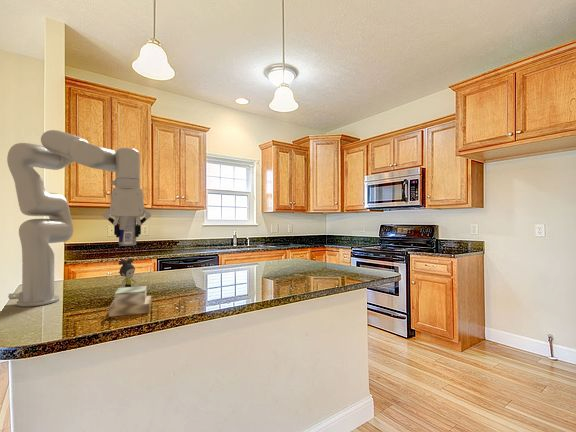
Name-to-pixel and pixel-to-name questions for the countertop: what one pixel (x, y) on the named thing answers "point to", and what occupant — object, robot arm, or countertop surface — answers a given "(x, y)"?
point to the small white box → (130, 301)
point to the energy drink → (127, 231)
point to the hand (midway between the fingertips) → (127, 236)
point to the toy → (127, 272)
